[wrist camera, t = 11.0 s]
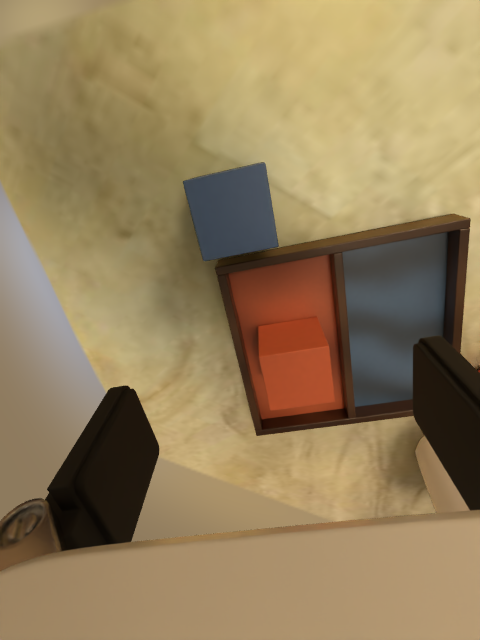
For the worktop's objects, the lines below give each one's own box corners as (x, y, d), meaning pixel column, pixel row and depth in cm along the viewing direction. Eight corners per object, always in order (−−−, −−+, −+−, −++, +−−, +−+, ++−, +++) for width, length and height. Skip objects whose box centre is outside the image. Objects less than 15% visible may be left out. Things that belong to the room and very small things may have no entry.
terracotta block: (258, 326, 26) (258, 357, 22) (317, 316, 25) (328, 346, 21) (267, 374, 28) (270, 411, 24) (323, 365, 27) (335, 402, 23)
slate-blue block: (195, 177, 22) (182, 181, 18) (263, 162, 22) (265, 162, 17) (212, 244, 24) (203, 261, 20) (274, 231, 23) (278, 247, 19)
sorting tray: (217, 259, 24) (214, 267, 23) (453, 213, 22) (471, 218, 21) (256, 420, 31) (256, 436, 29) (443, 395, 29) (456, 410, 27)
